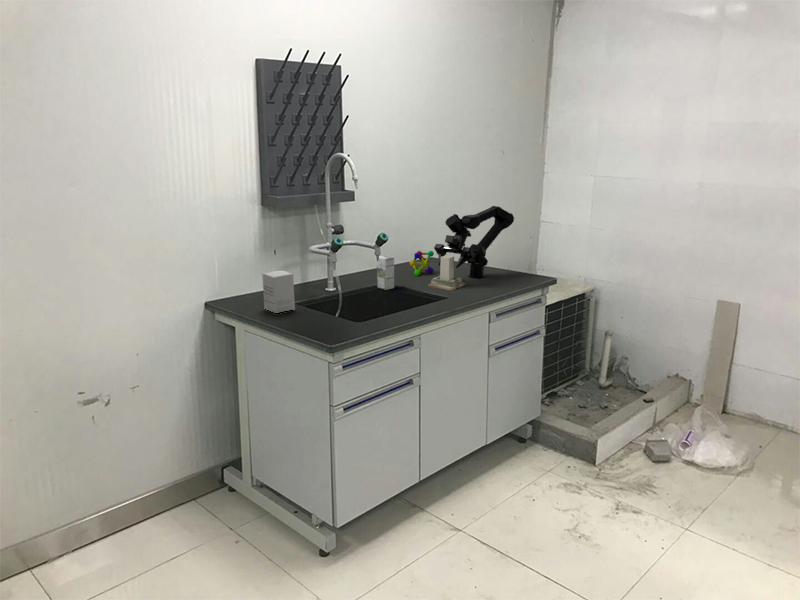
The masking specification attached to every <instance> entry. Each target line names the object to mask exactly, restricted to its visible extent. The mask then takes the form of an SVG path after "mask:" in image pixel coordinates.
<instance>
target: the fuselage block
mask: <svg viewBox="0 0 800 600" xmlns="http://www.w3.org/2000/svg"><path fill="white" fill-rule="evenodd" d="M439 267H440V271H439V274H440V275H439V276H440V280H446V281H452V280H454V277H455V275H454V274H455V256H451V255H445V256H443V257H441V264H440V266H439Z"/></svg>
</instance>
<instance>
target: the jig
mask: <svg viewBox="0 0 800 600" xmlns="http://www.w3.org/2000/svg"><path fill="white" fill-rule="evenodd" d="M430 281H431V283H429V284H427V286H428V287H429V288H435V289H442V290H446V291H447V290H448V291H455V290H456V289H459V288H461V287H464V286H466V282H463V277H459V276H454V280H452V281H446V280H440V275H439V276H436V277H433V278H431V279H430Z"/></svg>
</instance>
